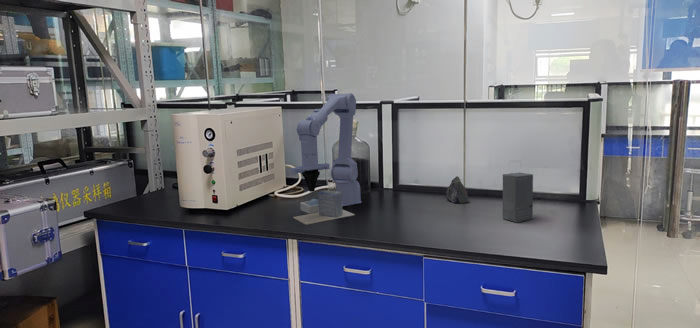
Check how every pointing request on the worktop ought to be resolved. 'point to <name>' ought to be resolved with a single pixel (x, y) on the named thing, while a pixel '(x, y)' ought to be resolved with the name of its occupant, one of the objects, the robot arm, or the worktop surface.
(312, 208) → the button box
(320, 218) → the cream flat sheet
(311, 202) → the dome button
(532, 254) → the worktop surface
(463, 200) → the mineral rock
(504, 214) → the skincare box
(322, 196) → the medicine box
